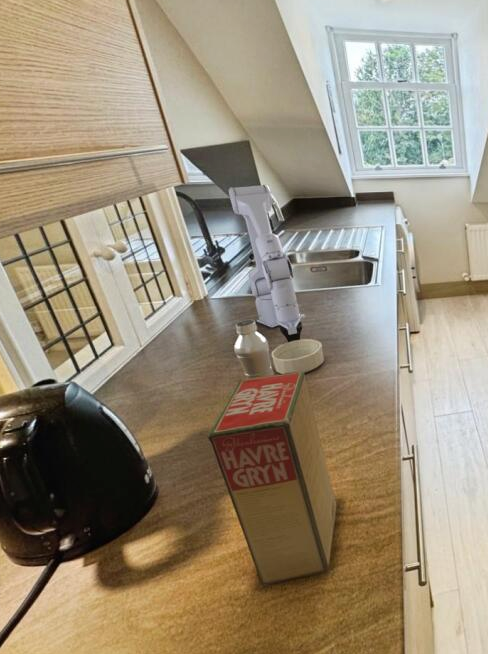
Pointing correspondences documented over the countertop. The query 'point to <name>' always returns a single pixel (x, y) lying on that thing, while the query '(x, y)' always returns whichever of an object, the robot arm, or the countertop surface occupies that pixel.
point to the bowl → (297, 356)
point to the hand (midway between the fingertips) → (295, 348)
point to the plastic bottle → (252, 350)
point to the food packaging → (277, 476)
